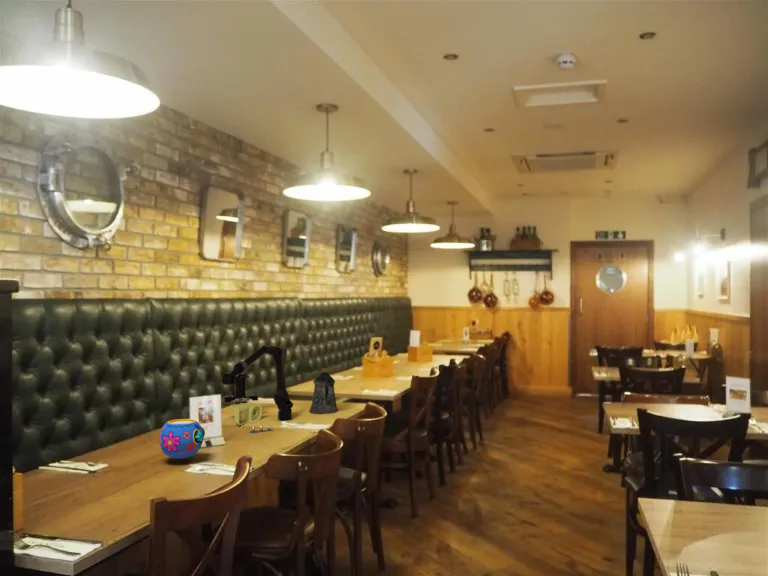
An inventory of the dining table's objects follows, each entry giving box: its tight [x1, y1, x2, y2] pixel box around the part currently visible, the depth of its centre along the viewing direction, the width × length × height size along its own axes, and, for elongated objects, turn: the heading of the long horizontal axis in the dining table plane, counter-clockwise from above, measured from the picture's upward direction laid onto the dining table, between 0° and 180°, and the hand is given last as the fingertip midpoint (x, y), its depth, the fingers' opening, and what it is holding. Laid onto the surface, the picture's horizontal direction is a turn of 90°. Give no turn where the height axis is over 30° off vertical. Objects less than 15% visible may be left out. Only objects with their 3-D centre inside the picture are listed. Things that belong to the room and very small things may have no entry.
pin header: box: [248, 424, 274, 434], centre depth 322 cm, size 12×2×3 cm, turn 117°
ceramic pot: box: [158, 418, 206, 460], centre depth 268 cm, size 18×18×15 cm
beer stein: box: [308, 372, 339, 415], centre depth 371 cm, size 16×19×25 cm
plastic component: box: [229, 402, 264, 426], centre depth 348 cm, size 20×7×10 cm, turn 153°
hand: (240, 414), depth 358 cm, fingers closed
